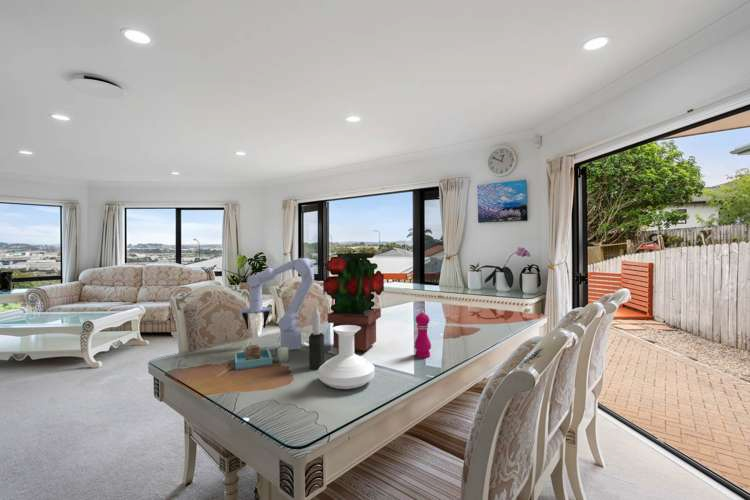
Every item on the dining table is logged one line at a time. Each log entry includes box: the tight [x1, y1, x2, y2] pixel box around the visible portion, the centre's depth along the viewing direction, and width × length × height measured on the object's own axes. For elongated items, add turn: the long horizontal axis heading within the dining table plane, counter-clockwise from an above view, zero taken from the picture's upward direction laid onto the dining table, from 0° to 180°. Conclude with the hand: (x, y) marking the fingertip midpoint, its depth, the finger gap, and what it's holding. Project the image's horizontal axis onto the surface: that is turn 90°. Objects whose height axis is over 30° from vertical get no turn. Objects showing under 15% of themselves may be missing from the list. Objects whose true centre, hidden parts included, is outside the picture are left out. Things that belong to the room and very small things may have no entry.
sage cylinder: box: [277, 347, 289, 363], centre depth 150 cm, size 4×4×5 cm
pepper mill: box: [414, 309, 432, 359], centre depth 153 cm, size 7×7×20 cm
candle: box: [308, 304, 325, 371], centre depth 140 cm, size 5×5×25 cm
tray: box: [234, 348, 273, 371], centre depth 147 cm, size 14×14×3 cm
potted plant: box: [322, 252, 385, 354], centre depth 166 cm, size 22×22×45 cm
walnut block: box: [245, 344, 261, 361], centre depth 147 cm, size 4×4×6 cm
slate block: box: [265, 346, 276, 356], centre depth 158 cm, size 4×4×3 cm
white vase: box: [317, 325, 376, 390], centre depth 124 cm, size 20×20×19 cm
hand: (256, 327), depth 169 cm, fingers open, 7 cm apart
